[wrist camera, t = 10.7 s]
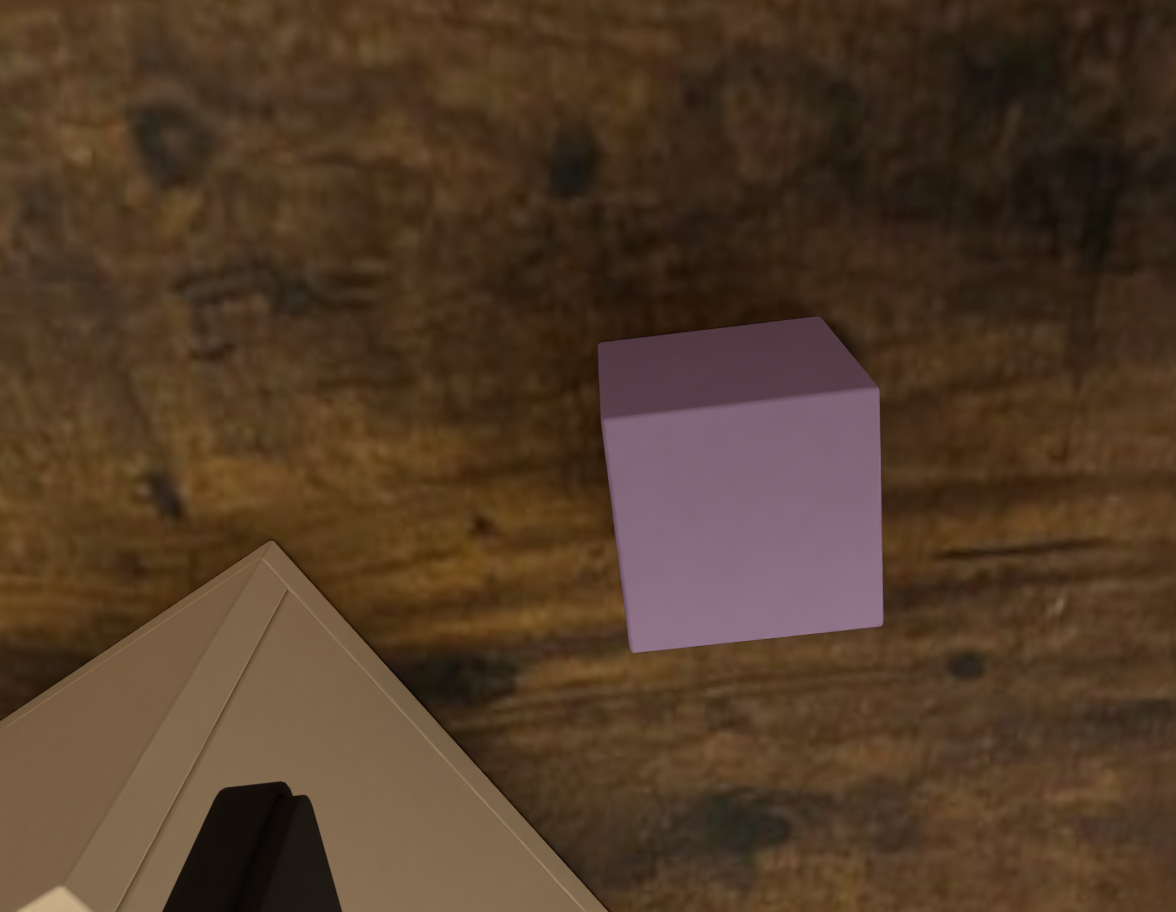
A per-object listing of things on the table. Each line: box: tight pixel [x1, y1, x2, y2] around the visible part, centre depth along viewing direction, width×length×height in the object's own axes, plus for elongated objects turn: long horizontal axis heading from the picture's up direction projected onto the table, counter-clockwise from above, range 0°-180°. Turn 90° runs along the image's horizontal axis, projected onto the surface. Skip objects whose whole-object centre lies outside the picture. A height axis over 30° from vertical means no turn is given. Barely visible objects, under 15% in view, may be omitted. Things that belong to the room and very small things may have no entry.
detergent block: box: [598, 316, 883, 653], centre depth 17 cm, size 4×4×4 cm
